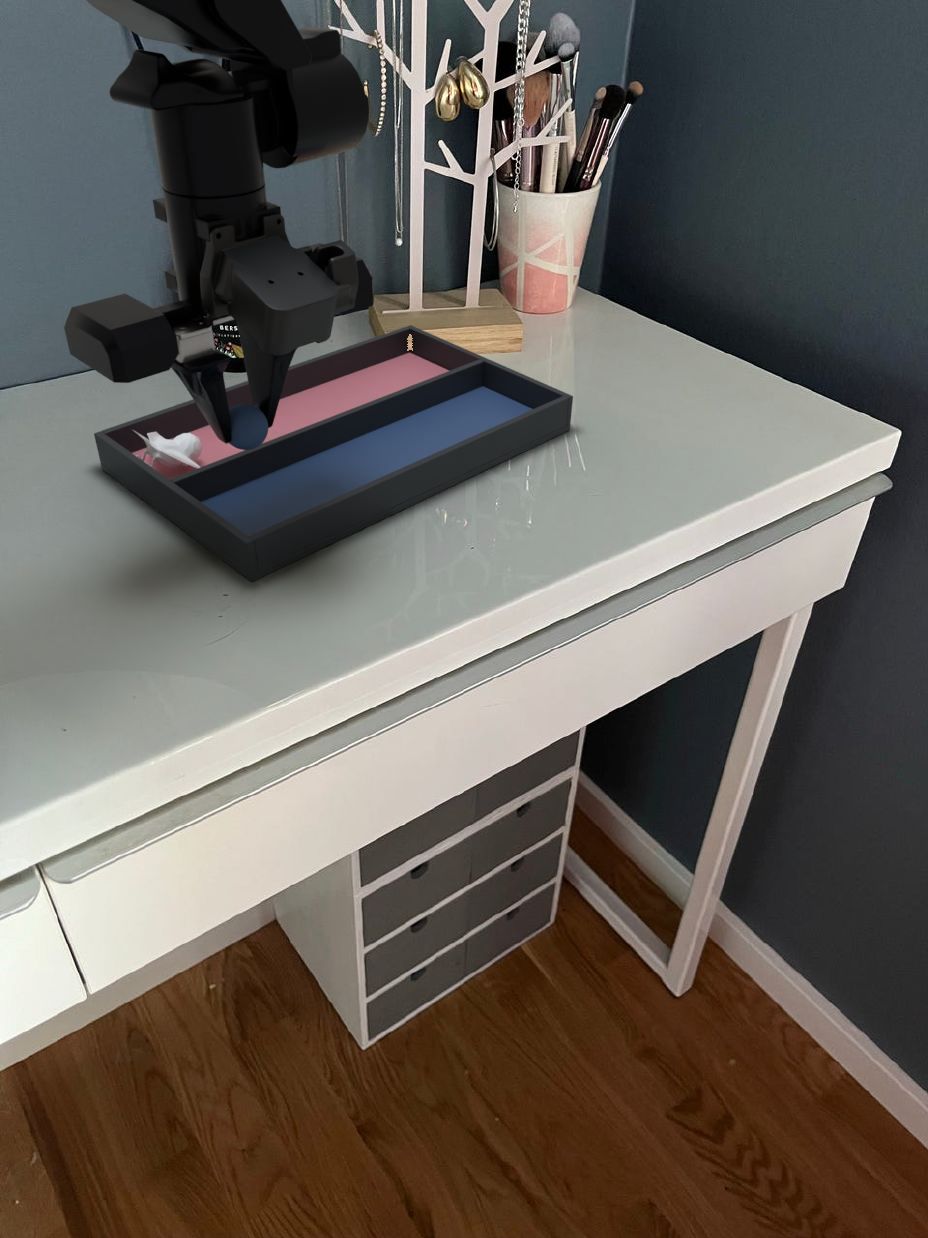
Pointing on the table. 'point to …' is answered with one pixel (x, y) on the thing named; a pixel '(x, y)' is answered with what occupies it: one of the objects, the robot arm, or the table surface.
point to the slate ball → (247, 426)
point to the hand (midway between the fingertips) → (245, 433)
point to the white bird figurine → (172, 449)
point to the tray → (338, 447)
